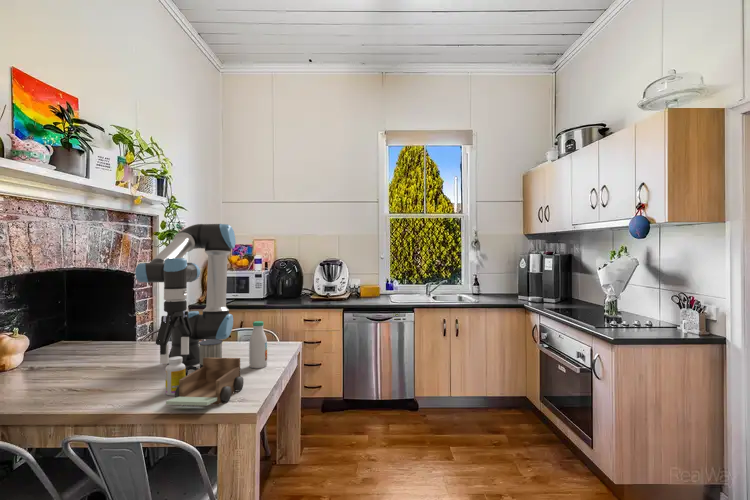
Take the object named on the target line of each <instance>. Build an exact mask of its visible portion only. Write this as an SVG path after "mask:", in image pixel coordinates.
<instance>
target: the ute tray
mask: <svg viewBox="0 0 750 500" xmlns="http://www.w3.org/2000/svg"><path fill="white" fill-rule="evenodd" d="M198 368H199V369H197V370H196V371H195V370H194V371H192V372H191V373H188V375H187V376H185V377H184V378H182V379H180V380H179V386H178V387H177V389H176V391H175V395H174V398H176V397H215V398H217V401H215V402H213V403H211V404H210V405H221V404H222V403H223V402H224V403H226V402H227V403H229V402H230V401H231V397H232V395H233V394H234V393H235V392H241V391H242V390H243V388H244V382H245V381H244V378H243V376H241V358H240V357H222V358H203V367H201V368H200V367H198Z"/></svg>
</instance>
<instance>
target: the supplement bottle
mask: <svg viewBox="0 0 750 500" xmlns="http://www.w3.org/2000/svg"><path fill="white" fill-rule="evenodd" d="M182 360H183V358H182V357H180V356H176V357H170V358H169V365H166V367H165V369H164V370H165V373H164V374H165V379H164V380H165V395H167V396H171V397H172V396H174V397H175V391H176V389H177V387H178V386H179V380H180V379H182V378H184V377H185V376H186V375H185V368H186V366H185V365H184V364H183V363H182Z"/></svg>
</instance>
